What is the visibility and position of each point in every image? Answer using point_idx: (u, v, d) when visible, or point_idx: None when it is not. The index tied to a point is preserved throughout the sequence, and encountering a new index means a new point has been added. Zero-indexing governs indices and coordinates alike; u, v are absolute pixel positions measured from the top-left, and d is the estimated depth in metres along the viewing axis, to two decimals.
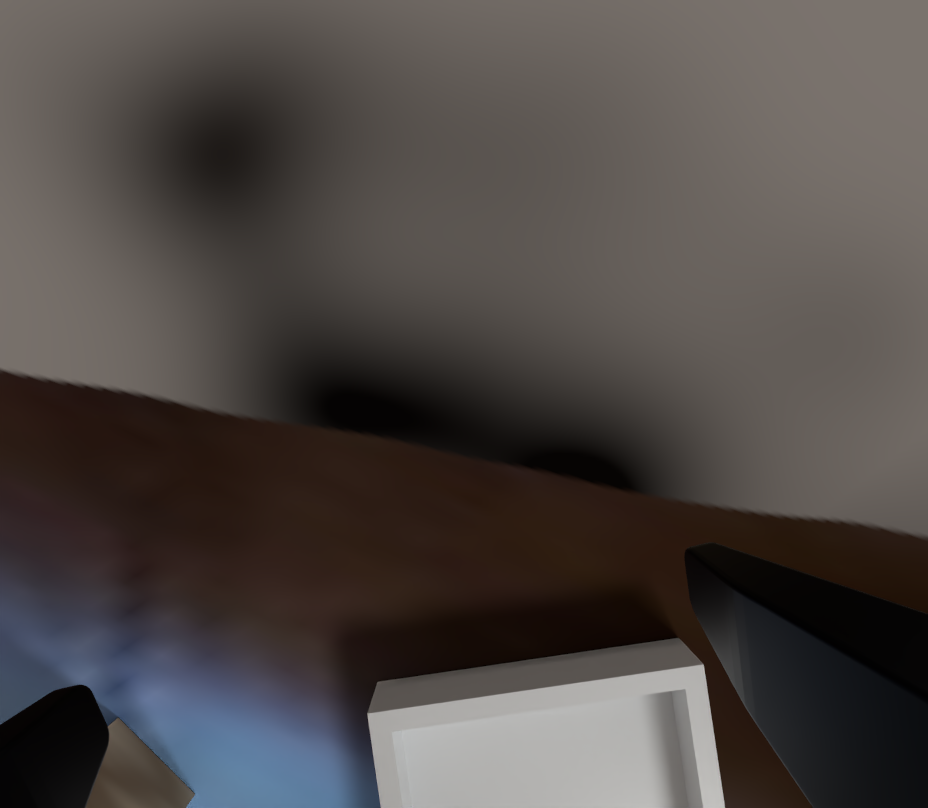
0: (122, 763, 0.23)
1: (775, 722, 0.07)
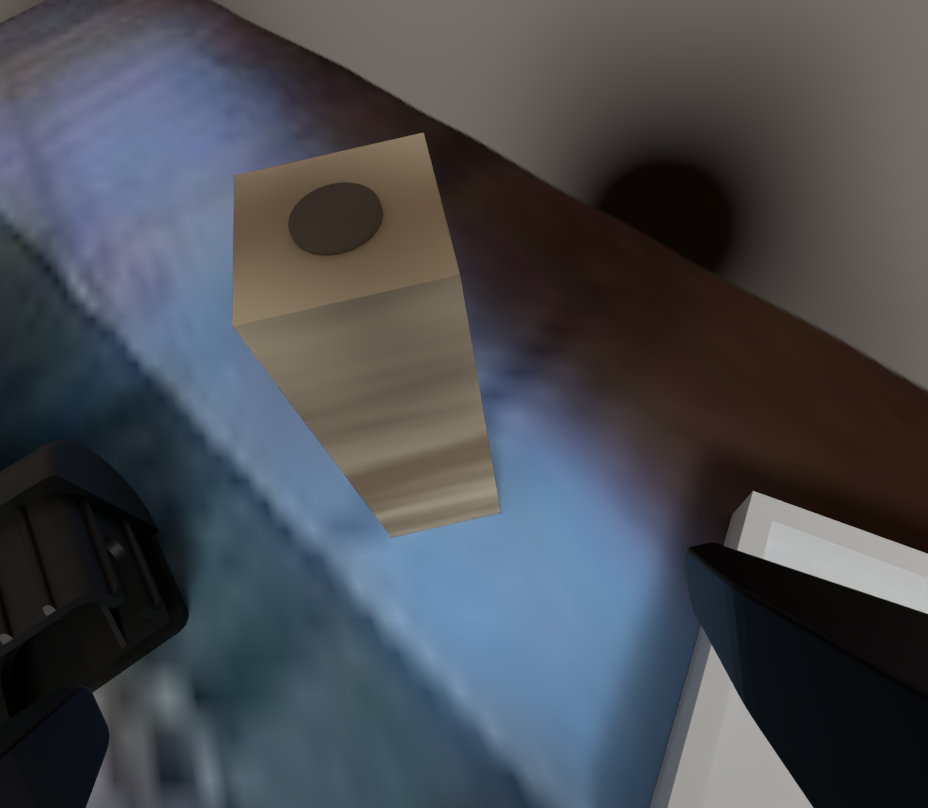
0: None
1: (775, 722, 0.07)
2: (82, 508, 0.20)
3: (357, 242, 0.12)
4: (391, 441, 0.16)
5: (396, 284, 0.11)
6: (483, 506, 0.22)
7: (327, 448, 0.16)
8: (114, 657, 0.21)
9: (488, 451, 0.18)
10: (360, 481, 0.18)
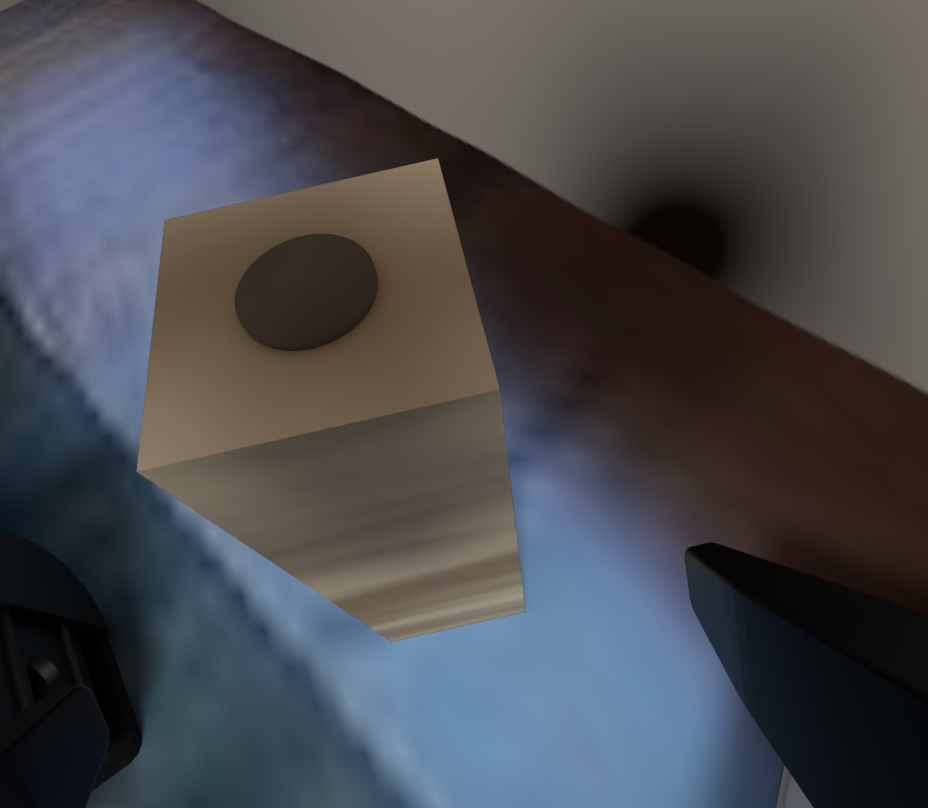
0: None
1: (775, 722, 0.07)
2: None
3: (338, 331, 0.08)
4: (391, 567, 0.12)
5: (398, 403, 0.07)
6: (505, 608, 0.18)
7: (304, 580, 0.12)
8: None
9: (517, 565, 0.14)
10: (350, 603, 0.14)
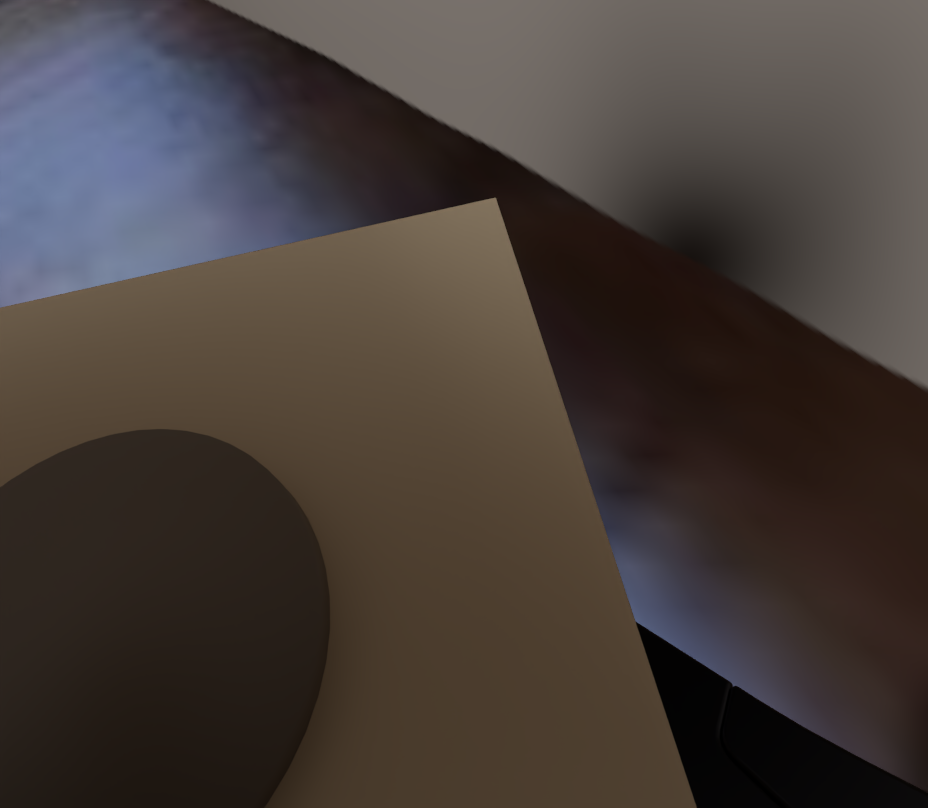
0: None
1: None
2: None
3: None
4: None
5: None
6: None
7: None
8: None
9: None
10: None
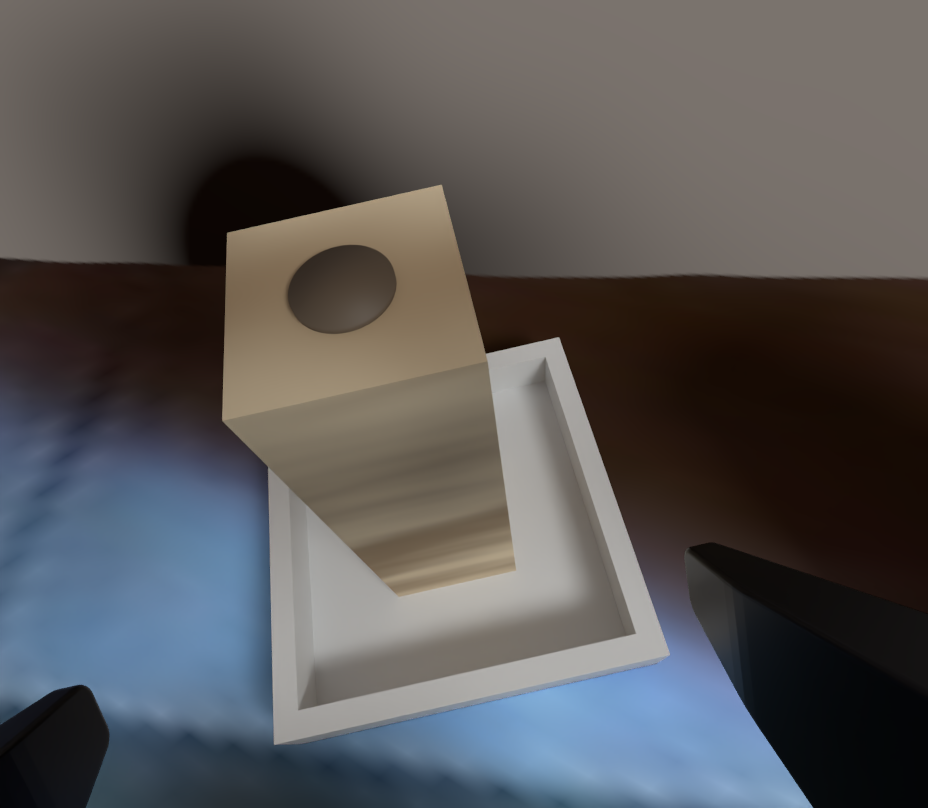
0: None
1: (775, 722, 0.07)
2: None
3: (367, 319, 0.10)
4: (401, 517, 0.15)
5: (413, 372, 0.10)
6: (498, 565, 0.21)
7: (331, 526, 0.14)
8: None
9: (507, 519, 0.17)
10: (366, 552, 0.17)
